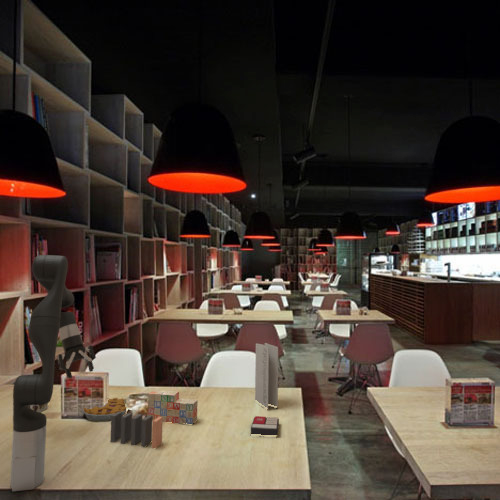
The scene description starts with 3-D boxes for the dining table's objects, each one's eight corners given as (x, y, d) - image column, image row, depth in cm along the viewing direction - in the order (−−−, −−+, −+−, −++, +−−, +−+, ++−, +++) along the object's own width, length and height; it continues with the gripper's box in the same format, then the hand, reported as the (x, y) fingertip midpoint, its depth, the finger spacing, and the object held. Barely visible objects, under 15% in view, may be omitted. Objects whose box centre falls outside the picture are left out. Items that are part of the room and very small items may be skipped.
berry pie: (78, 424, 175) (79, 412, 175) (85, 408, 196) (85, 397, 196) (131, 420, 181) (131, 409, 181) (132, 404, 202) (132, 394, 202)
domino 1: (121, 437, 162) (122, 412, 162) (114, 442, 157) (114, 416, 157) (118, 437, 162) (118, 411, 163) (110, 441, 157) (111, 415, 158)
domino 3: (141, 440, 159) (142, 414, 160) (134, 445, 154) (135, 418, 155) (137, 439, 160) (138, 414, 160) (130, 445, 155) (131, 418, 155)
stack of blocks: (197, 420, 181) (198, 392, 182) (192, 425, 175) (193, 396, 176) (153, 416, 186) (154, 389, 187) (147, 421, 180) (148, 393, 181)
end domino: (162, 443, 157) (162, 417, 157) (155, 448, 152) (156, 421, 152) (158, 442, 157) (159, 416, 158) (151, 448, 152) (152, 421, 153)
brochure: (254, 402, 208) (255, 343, 210) (264, 400, 210) (265, 342, 212) (267, 410, 195) (268, 348, 197) (277, 409, 198) (278, 347, 199)
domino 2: (131, 438, 160) (132, 413, 161) (124, 444, 155) (125, 417, 156) (127, 438, 161) (128, 412, 161) (120, 443, 156) (121, 417, 156)
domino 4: (151, 441, 158) (152, 415, 158) (144, 447, 153) (145, 420, 154) (148, 441, 158) (148, 415, 159) (141, 446, 153) (141, 419, 154)
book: (278, 416, 179) (277, 427, 164) (278, 426, 178) (277, 438, 163) (254, 415, 180) (250, 425, 165) (254, 425, 179) (250, 436, 164)
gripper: (55, 339, 161) (66, 379, 158) (90, 330, 171) (101, 367, 168) (50, 343, 167) (60, 382, 163) (84, 334, 176) (95, 370, 173)
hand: (81, 374), depth 166 cm, fingers open, 8 cm apart
